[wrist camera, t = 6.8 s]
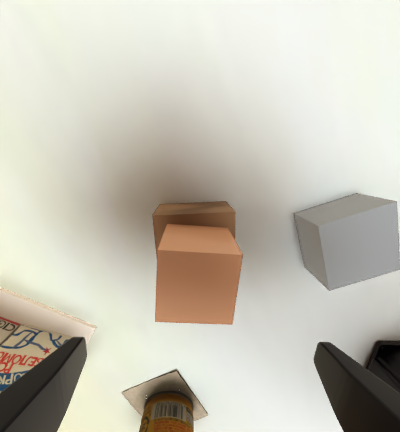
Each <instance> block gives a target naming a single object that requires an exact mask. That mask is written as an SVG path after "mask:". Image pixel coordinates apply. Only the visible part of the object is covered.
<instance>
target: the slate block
mask: <svg viewBox="0 0 400 432" xmlns="http://www.w3.org/2000/svg"><path fill="white" fill-rule="evenodd" d="M294 217H295V221H296V226H297V231H298V236H299V241H300V246H301V251H302V256H303V261H304V266H305V268H306V269H307V270H308V271H309V272H310V273H311V274H312V275H313V276H314V277H315V278H316V279H317V280H319V281H320V282H321V283H322V284H323V285H324V286H325V287H326V288H327V289H328V290H329V291H330V290H333V289H337V288H340V287H343V286H347V285H350V284H353V283H357V282H360V281H363V280H367V279H370V278H373V277H377V276H380V275H383V274H387V273H390V272H393V271H397V270H400V252H399V233H398V215H397V201H392V200H387V199H382V198H377V197H372V196H368V195H363V194H358V193H356V194H353V195H350V196H347V197H343V198H340V199H337V200H334V201H331V202H328V203H325V204H322V205H318V206H315V207H312V208H309V209H306V210H303V211H300V212H296V213H294Z"/></svg>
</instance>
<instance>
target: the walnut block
mask: <svg viewBox="0 0 400 432" xmlns="http://www.w3.org/2000/svg"><path fill="white" fill-rule="evenodd" d="M167 224H179V225H194V226H209V227H224V228H228V229H229V231H230V232H231V234H232V236H233V238H234V240H235V211H234V210H233V208H232V207H231V206H230V205H229V204H228V203H227V202H226V201H223V202H201V203H179V204H160V205H159V207H158V208H157V210H156V211H155V213H154V214H153V225H154V235H155V245H156V254H157V251H158V247H159V245H160V242H161V239H162V236H163V234H164V231H165V228H166V225H167Z"/></svg>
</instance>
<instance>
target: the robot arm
mask: <svg viewBox="0 0 400 432" xmlns="http://www.w3.org/2000/svg"><path fill="white" fill-rule="evenodd" d="M86 357H87V350H86V340H85V338H84V337H72V338H70V339H69V340H68V341H66V342H65V343H64V344H63V345H61V346H60V347H59V348H57V349H56V350H55V351H54V352H52V353H51V354H50V355H48V356H47V357H46V358H44V359H43V360H42V361H41V362H39V363H38V364H37V365H35V366H34V367H33V368H32V369H30V370H29V371H28V372H26V373H25V374H24V375H22V376H21V377H20V378H19V379H17V380H16V381H15V382H13V383H12V384H11V385H10V386H8V387H7V388H6V389H4V390H3V391H2V392H0V432H57V430H58V428H59V426H60V424H61V422H62V420H63V418H64V415H65V413H66V411H67V408H68V406H69V403H70V401H71V398H72V395H73V393H74V390H75V387H76V385H77V382H78V380H79V377H80V374H81V372H82V369H83V366H84V364H85V361H86ZM314 363H315V366H316V369H317V371H318V374H319V376H320V379H321V381H322V384H323V386H324V389H325V391H326V394H327V396H328V398H329V401H330V403H331V406H332V408H333V410H334V413H335V415H336V417H337V419H338V421H339V423H340V425H341V427H342V429H343V431H344V432H400V342H378V343H377V344H376V346H375V348H374V351H373V354H372V356H371V359H370V362H369V364H368V367H367V369H366V368H364V367H363V366H362V365H360V364H359V363H358V362H356V361H355V360H353V359H352V358H351V357H349V356H348V355H347V354H345V353H344V352H343V351H341V350H340V349H338V348H337V347H336V346H334V345H333V344H331V343H329V342H319V343H318V345H317V348H316V352H315V355H314Z"/></svg>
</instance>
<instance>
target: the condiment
mask: <svg viewBox="0 0 400 432" xmlns="http://www.w3.org/2000/svg"><path fill="white" fill-rule="evenodd" d="M122 394H123V395H124V397H125V398H126V399H127V400H128V401H129V403H130V404H131V405H132V406H133V407H134V409H135V410H136V411H137V412H138V413H139V414H140V415H141V416H142V420H141V426H140V430H139V432H193V421H194V420H198V419H200V418H203V417H206V416H208V414H207V413H206V411H205V410H204V408H203V407H202V405H201V404H200V402H199V401H198V399H197V398H196V397H195V395H194V394H193V393H192V392H191V391H190V389H189V388H188V386H187V385H186V383H185V382H184V380H183V379H182V378H181V377H180V375H179V374H178V372H177V371H175V372H173V373H168V374H166V375H163V376H161V377H158V378H155V379H152V380H150V381H148V382H144V383H143V384H141V385H139V386H137V387H133V388H131V389H129V390H127V391H125V392H122ZM146 395H147V399H145V398H146Z"/></svg>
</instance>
